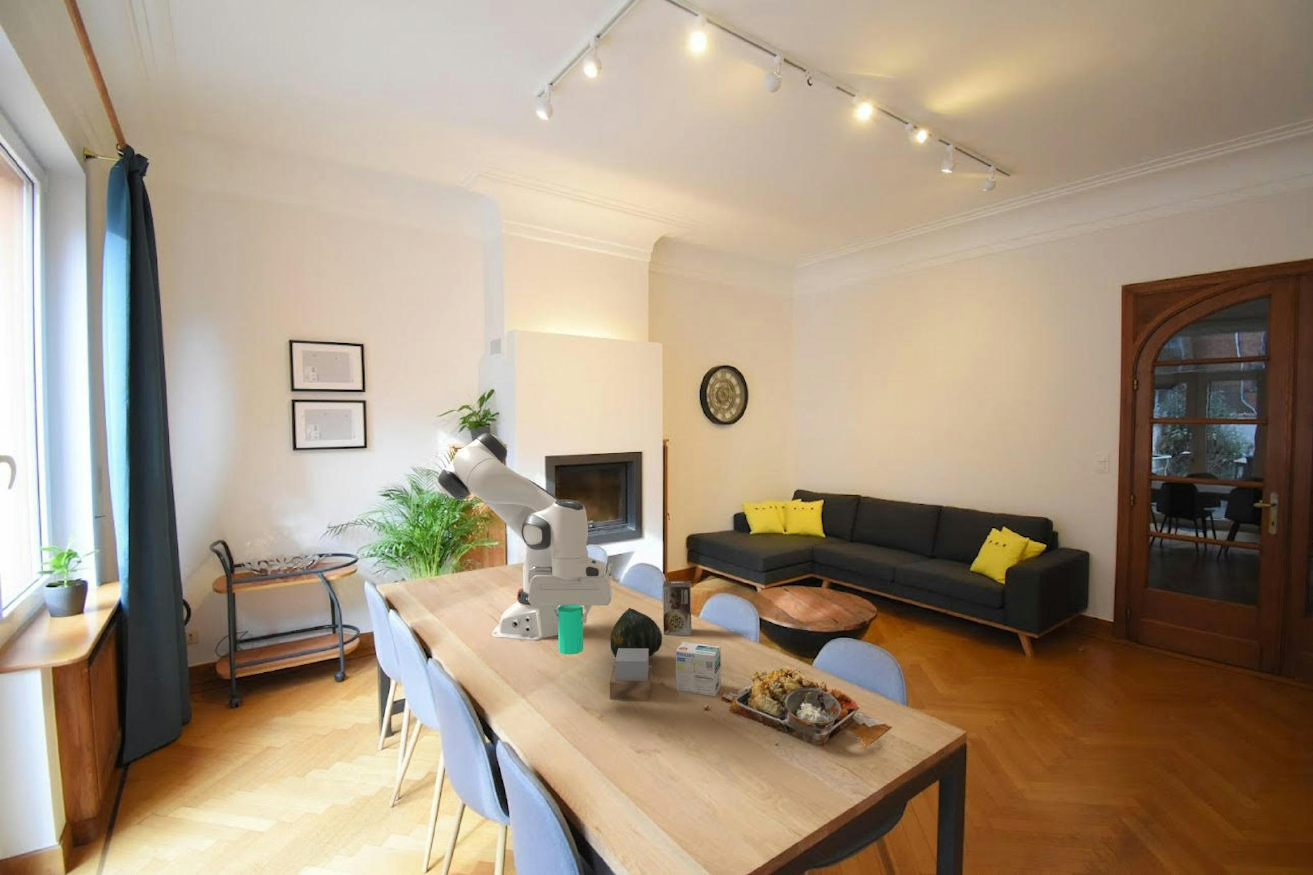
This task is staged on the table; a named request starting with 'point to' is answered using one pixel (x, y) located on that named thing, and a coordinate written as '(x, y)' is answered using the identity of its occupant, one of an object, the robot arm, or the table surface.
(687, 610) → the coffee box
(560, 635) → the candle
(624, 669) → the tower top block
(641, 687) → the tower base block
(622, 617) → the squash
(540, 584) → the robot arm
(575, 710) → the table surface
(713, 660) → the light bulb box
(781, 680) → the food tray
